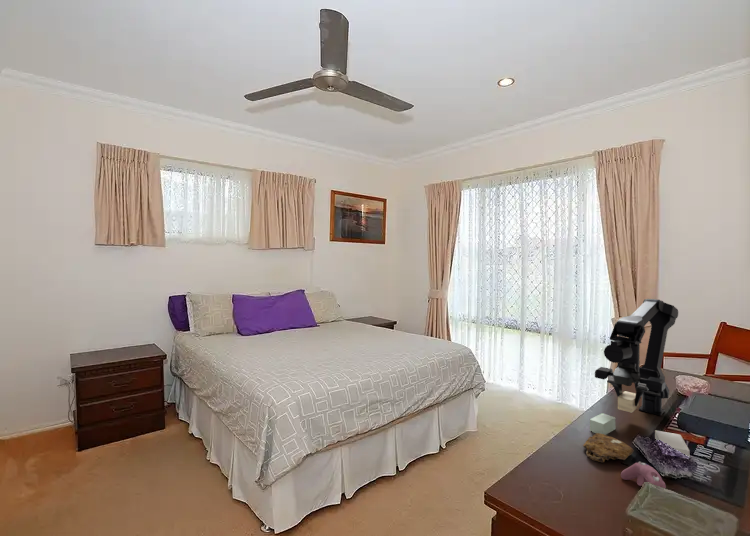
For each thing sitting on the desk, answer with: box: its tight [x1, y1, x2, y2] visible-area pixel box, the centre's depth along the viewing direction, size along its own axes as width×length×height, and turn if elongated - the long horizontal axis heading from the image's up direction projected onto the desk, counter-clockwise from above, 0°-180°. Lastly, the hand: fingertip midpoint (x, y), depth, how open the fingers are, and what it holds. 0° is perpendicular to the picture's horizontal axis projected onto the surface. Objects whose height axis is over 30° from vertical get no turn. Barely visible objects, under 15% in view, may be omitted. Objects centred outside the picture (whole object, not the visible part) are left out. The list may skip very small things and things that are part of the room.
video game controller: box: [620, 461, 667, 489], centre depth 86 cm, size 10×5×7 cm, turn 169°
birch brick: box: [617, 391, 640, 414], centre depth 121 cm, size 8×4×4 cm, turn 131°
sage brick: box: [589, 412, 616, 435], centre depth 116 cm, size 8×4×4 cm, turn 123°
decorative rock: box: [582, 433, 635, 463], centre depth 102 cm, size 11×4×15 cm
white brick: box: [654, 430, 691, 457], centre depth 104 cm, size 10×6×3 cm, turn 151°
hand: (628, 403), depth 121 cm, fingers closed on birch brick, 4 cm apart
